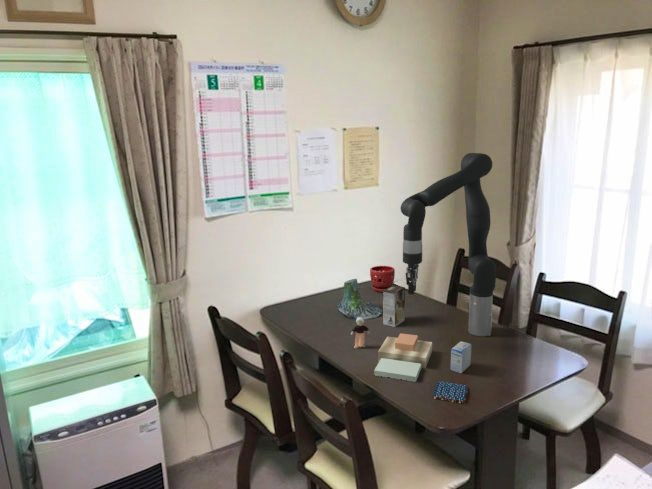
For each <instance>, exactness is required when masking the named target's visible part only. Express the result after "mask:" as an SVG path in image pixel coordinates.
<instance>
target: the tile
mask: <svg viewBox="0 0 652 489" xmlns="http://www.w3.org/2000/svg"><path fill="white" fill-rule="evenodd" d="M396 338H397V340H396V342H395V349H400V350H407V351H414V348H415V346H416V344H417V342H418V340H419V336H418V335H417V334H410V333H409V334H408V333H401V332H400V333H399V334H398V337H396Z"/></svg>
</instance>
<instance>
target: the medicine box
mask: <svg viewBox="0 0 652 489" xmlns="http://www.w3.org/2000/svg"><path fill="white" fill-rule="evenodd" d="M471 361H472V344H471V343H469V342H466V341H465V342H464V341H459V342H458V343H456V344H455V346H453V347H452V348H451V350H450V370H451V371H453V372H456V373H457V374H458V373H459V374H462V373H463V372H465V371H466V369H468V368H469V367H470V366H471V364H472V363H471Z"/></svg>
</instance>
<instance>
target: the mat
mask: <svg viewBox="0 0 652 489" xmlns="http://www.w3.org/2000/svg"><path fill="white" fill-rule="evenodd" d="M421 370H422V367H421V364H420V363H413V362H406V361H399V360H392V359H385V358H381V359H380V361H378V363H377V365H376V366H375V368H374V370H373V375H375V377H376V376H377V377H381V376H382V377H383V378H387V377H390V378H389V379H394V378H395V379H394V380H400V379H402V381H406V380H407V381H408V382H412V383H413V382H414V383H416V382H417V380H418V378H419V375H420V373H421Z"/></svg>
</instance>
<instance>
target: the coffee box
mask: <svg viewBox="0 0 652 489" xmlns="http://www.w3.org/2000/svg"><path fill="white" fill-rule="evenodd" d="M405 288H406V287H405V286H399V285H395V284H394V285H393V284H392V286H391V287H389V288H387V289H385V290H383V292H382V317H383V318H382V321H383V322H382V324H383V325H385V326H390V327H393V328H396V327H397V326H399V325H400V324H402V323H403V322H405V320H406V303H405V302H406V300H405V299H406V298H405V297H406V294H405V293H406V289H405Z"/></svg>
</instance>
